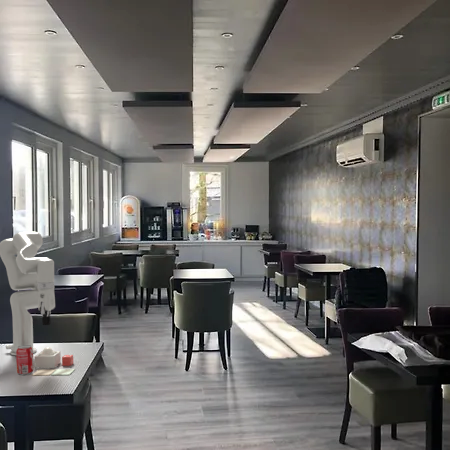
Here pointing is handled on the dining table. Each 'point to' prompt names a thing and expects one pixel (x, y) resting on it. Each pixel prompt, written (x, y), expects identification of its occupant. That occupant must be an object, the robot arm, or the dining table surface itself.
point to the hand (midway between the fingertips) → (46, 324)
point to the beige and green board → (53, 372)
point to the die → (67, 360)
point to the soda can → (24, 359)
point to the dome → (47, 352)
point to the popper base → (47, 360)
